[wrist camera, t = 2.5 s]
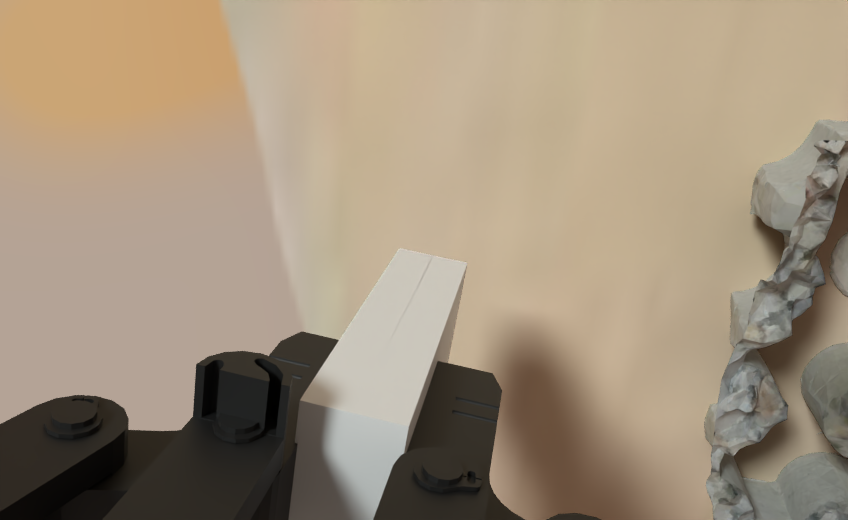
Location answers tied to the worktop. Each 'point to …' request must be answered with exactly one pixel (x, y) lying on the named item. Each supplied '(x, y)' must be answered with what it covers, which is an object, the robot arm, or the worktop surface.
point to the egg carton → (772, 322)
